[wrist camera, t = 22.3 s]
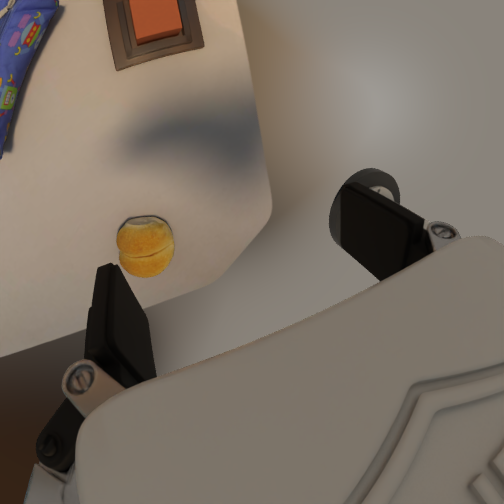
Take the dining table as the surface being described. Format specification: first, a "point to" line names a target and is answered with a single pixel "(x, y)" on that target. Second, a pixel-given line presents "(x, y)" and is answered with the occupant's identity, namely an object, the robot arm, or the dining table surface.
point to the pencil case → (18, 49)
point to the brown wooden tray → (132, 54)
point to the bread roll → (145, 246)
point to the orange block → (154, 20)
